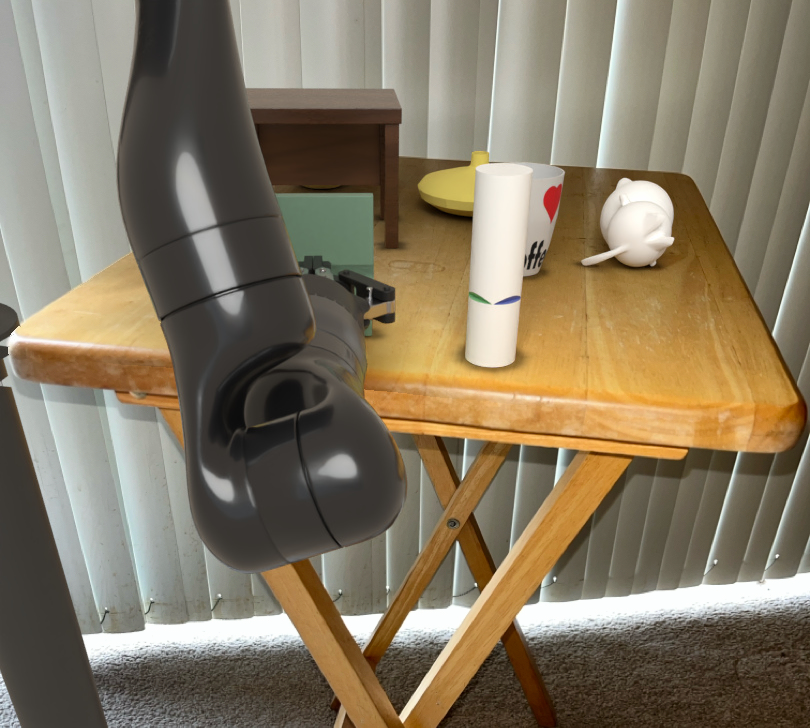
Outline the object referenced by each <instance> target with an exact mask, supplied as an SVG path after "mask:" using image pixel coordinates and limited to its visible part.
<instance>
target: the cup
mask: <svg viewBox="0 0 810 728" xmlns="http://www.w3.org/2000/svg"><path fill="white" fill-rule="evenodd" d="M506 163H510V164H519V165H524V166H527V167H530V168H532V169H533V176H532V186H531V197H530V207H529V218H528V228H527V239H526V249H525V260H524V271H523V277H530V276H533V275H536V274H538V273H539V272H540V271H541V267H542V265H543V263H544V260H545V258H546V256H547V253H548V251H549V248H550V244H551V241H552V238H553V234H554V230H555V226H556V223H557V219H558V215H559V210H560V205H561V197H562V191H563V185H564V179H565V173H566V171H565V170H564V169H563V168H561V167H558V166H556V165H553V164H552V165H551V164H547V163H539V162H527V161H511V162H509V161H508V162H506Z"/></svg>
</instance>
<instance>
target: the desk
mask: <svg viewBox="0 0 810 728" xmlns="http://www.w3.org/2000/svg"><path fill="white" fill-rule="evenodd" d="M246 92H247V97H248V102H249V106H250V110H251V114H252V118H253V122H254V125H255V129H256V133H257V137H258V140H259V144H260V147H261V151H262V154H263V157H264V160H265V164H266V167H267V170H268V174H269V177H270V180H271V183H272V186H303V185H340V186H379V218H380V220H384V248H385V249H399V217H400V216H399V204H400V199H399V197H400V191H399V190H400V125H402V124H403V109H402V106H401V102H400V100H399V98H398V96H397V92H396V90H395V88H327V87H325V88H322V87H321V88H319V87H318V88H317V87H316V88H313V87H311V88H308V87H307V88H305V87H299V88H298V87H296V88H293V87H292V88H291V87H288V88H287V87H285V88H284V87H281V88H280V87H277V88H276V87H263V88H262V87H246Z"/></svg>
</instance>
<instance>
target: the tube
mask: <svg viewBox="0 0 810 728" xmlns="http://www.w3.org/2000/svg"><path fill="white" fill-rule="evenodd" d="M532 176H533V169H532V168H530V167H527V166H524V165H519V164H510V163H507V162H491V163H490V162H489V164H483V165H480V166H477V167H476V173H475V191H474V208H473V216H472V225H471V230H472V231H471V242H470V243H471V244H470V263H469V277H468V278H469V279H468V298H467V312H466V313H467V315H466V331H465V350H464V358H465V360H466V361H467V362H469V363H470V364H473V365H475V366H478V367H482V368H501V367H506V366H509V365H512V364H513V363H514V362H515V361H516V355H517V342H518V331H519V323H520V312H521V301H522V288H523V280H524V279H523V278H524V276H523V271H524V260H525V249H526V239H527V228H528V218H529V207H530V197H531V186H532Z"/></svg>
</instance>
